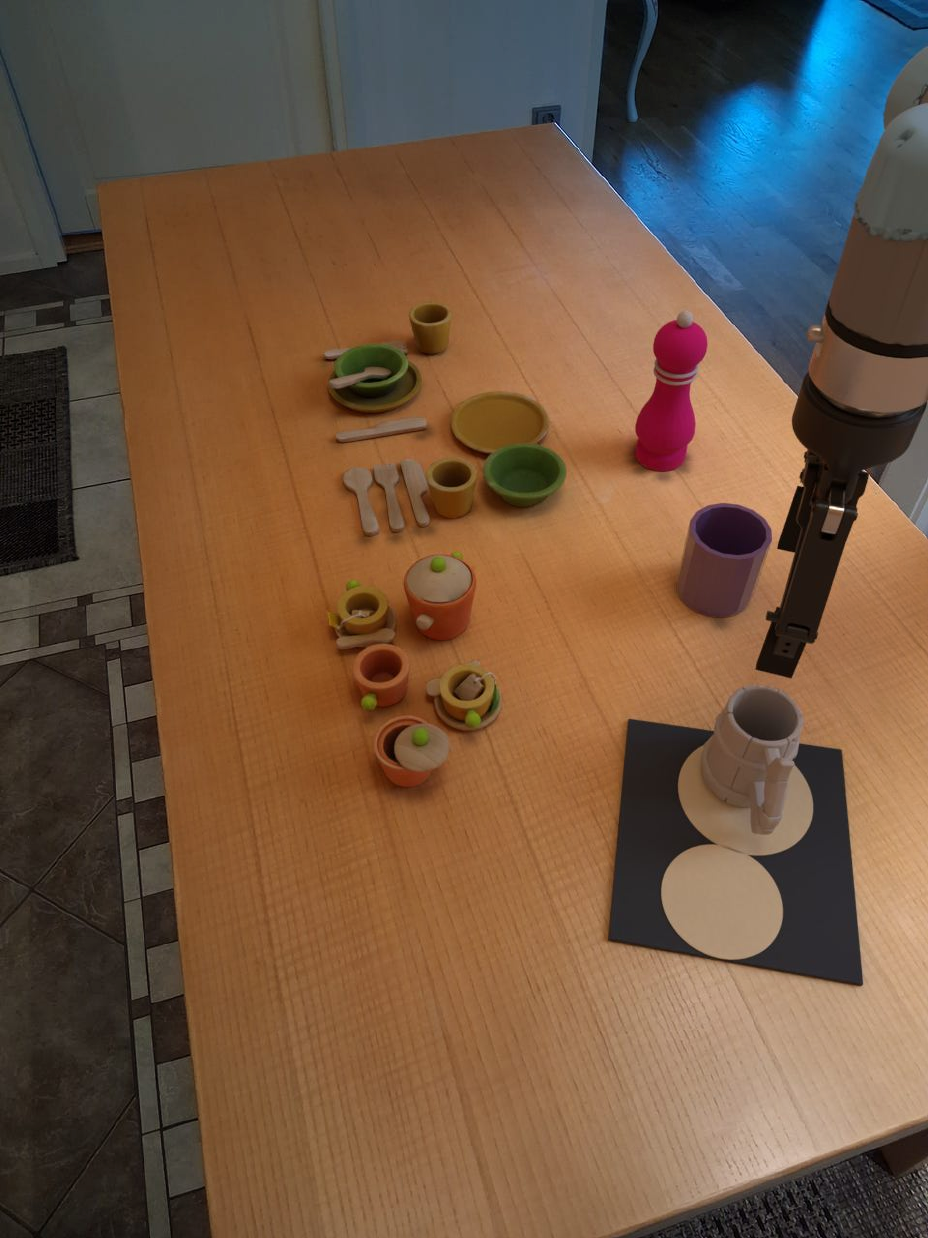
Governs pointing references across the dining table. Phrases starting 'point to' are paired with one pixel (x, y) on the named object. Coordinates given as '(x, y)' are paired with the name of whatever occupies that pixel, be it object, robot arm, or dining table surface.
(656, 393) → the pepper mill
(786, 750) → the mug
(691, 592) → the purple cup
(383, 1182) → the dining table surface
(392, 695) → the toy tea set
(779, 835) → the placemat
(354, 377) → the tableware set
